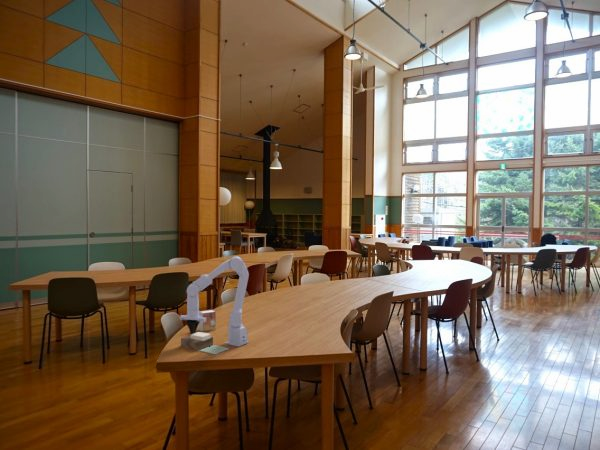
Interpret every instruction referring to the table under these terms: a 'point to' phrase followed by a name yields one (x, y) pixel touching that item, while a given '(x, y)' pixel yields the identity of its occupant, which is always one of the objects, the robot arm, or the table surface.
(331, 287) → the table surface
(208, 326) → the small box
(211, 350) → the mat
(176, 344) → the table surface
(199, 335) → the white rectangular block
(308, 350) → the table surface
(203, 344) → the deck
